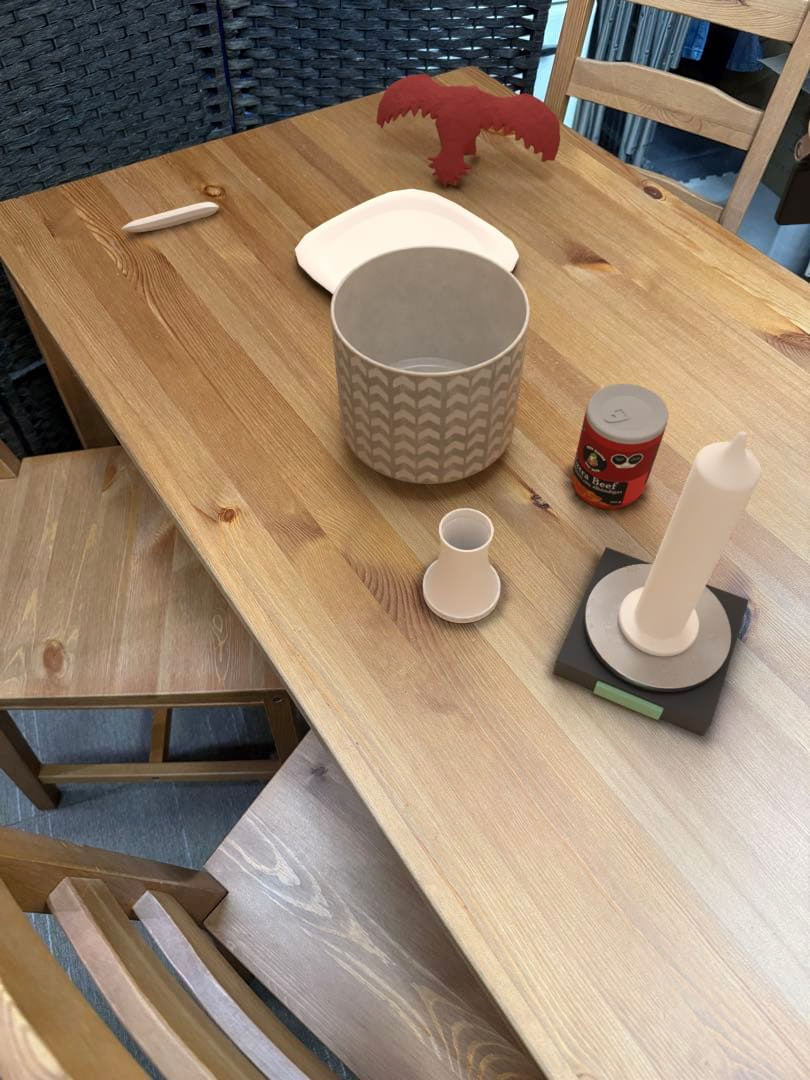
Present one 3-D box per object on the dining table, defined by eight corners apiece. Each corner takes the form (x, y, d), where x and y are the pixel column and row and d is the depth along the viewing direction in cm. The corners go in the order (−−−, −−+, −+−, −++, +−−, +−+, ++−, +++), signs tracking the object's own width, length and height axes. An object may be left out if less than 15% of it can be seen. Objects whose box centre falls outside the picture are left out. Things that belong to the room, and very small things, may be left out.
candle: (705, 606, 78) (806, 413, 58) (686, 669, 75) (787, 486, 54) (630, 579, 80) (703, 383, 60) (608, 639, 76) (678, 452, 56)
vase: (515, 590, 84) (526, 529, 76) (462, 637, 81) (468, 579, 73) (459, 546, 87) (464, 483, 79) (406, 589, 84) (406, 529, 76)
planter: (328, 492, 91) (311, 364, 77) (358, 370, 102) (349, 237, 88) (506, 511, 90) (524, 384, 75) (517, 384, 101) (535, 252, 86)
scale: (741, 612, 82) (753, 592, 79) (701, 741, 74) (713, 724, 72) (601, 560, 86) (608, 539, 83) (550, 677, 78) (555, 659, 75)
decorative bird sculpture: (543, 217, 127) (573, 111, 124) (534, 203, 119) (566, 89, 115) (370, 178, 134) (394, 76, 131) (350, 162, 125) (375, 53, 122)
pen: (121, 234, 119) (118, 223, 117) (217, 207, 122) (215, 197, 121) (124, 240, 118) (121, 229, 117) (221, 213, 121) (219, 202, 120)
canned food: (555, 480, 92) (570, 407, 83) (605, 444, 95) (625, 370, 86) (609, 523, 88) (630, 452, 79) (659, 485, 91) (685, 412, 82)
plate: (274, 257, 115) (272, 246, 114) (413, 186, 125) (413, 175, 124) (397, 352, 104) (397, 341, 103) (540, 265, 114) (542, 254, 112)
